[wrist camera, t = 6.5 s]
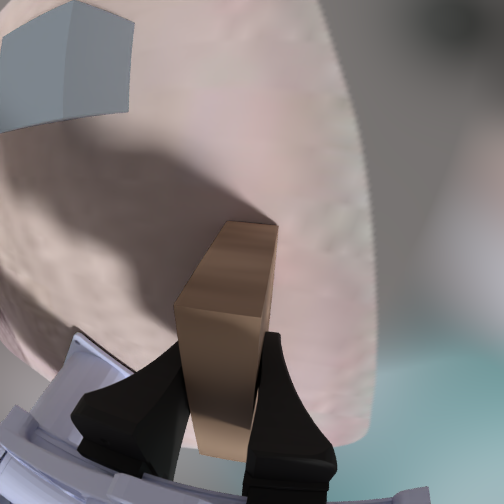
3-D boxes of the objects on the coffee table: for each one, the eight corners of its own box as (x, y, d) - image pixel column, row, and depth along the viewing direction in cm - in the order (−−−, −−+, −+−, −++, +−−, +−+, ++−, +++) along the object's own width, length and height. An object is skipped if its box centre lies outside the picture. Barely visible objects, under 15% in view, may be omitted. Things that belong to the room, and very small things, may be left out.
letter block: (135, 23, 11) (74, -1, 6) (129, 112, 13) (62, 118, 8) (63, 43, 11) (1, 38, 7) (59, 121, 13) (-5, 134, 9)
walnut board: (263, 369, 19) (247, 462, 12) (226, 364, 19) (199, 454, 13) (278, 225, 14) (260, 317, 8) (226, 220, 14) (173, 304, 8)
